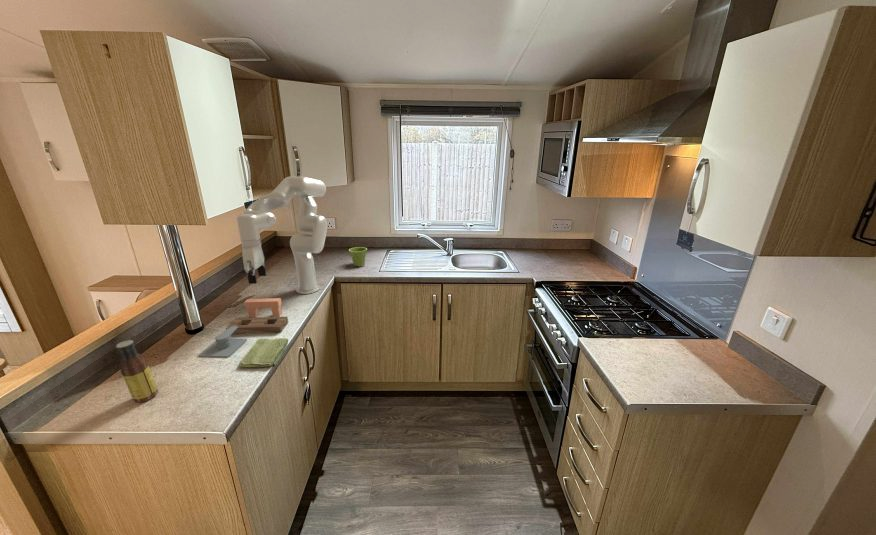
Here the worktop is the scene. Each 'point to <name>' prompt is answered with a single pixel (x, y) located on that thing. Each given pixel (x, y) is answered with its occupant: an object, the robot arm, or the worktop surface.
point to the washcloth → (264, 353)
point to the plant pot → (358, 255)
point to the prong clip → (263, 306)
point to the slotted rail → (259, 325)
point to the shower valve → (223, 345)
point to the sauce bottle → (136, 372)
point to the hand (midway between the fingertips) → (257, 279)
